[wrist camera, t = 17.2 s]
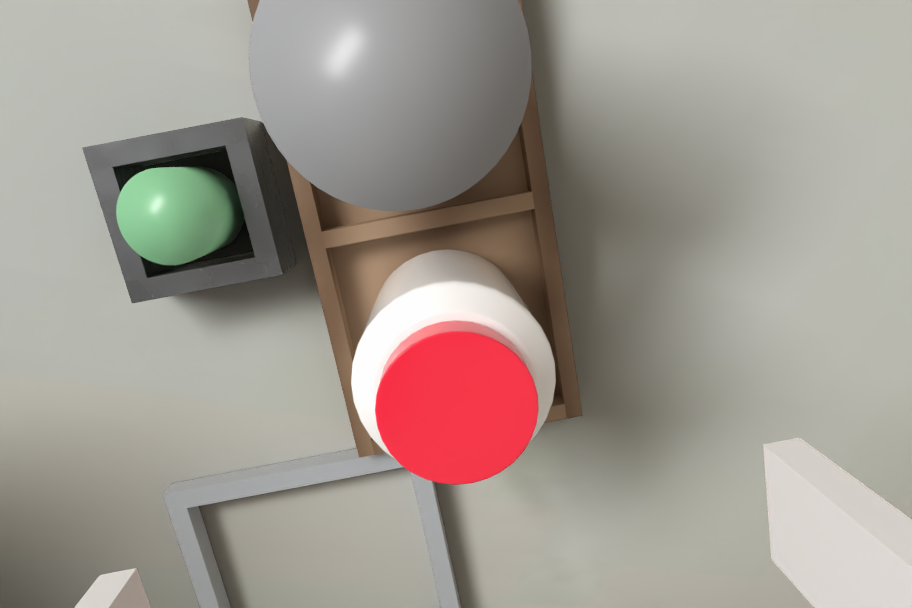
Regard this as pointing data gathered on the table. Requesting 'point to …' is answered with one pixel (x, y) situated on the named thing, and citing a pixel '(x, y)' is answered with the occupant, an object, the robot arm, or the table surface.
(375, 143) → the seated part
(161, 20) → the table surface
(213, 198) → the button
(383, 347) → the pill bottle
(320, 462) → the tray
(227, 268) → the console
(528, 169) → the brown divided tray
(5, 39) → the table surface
